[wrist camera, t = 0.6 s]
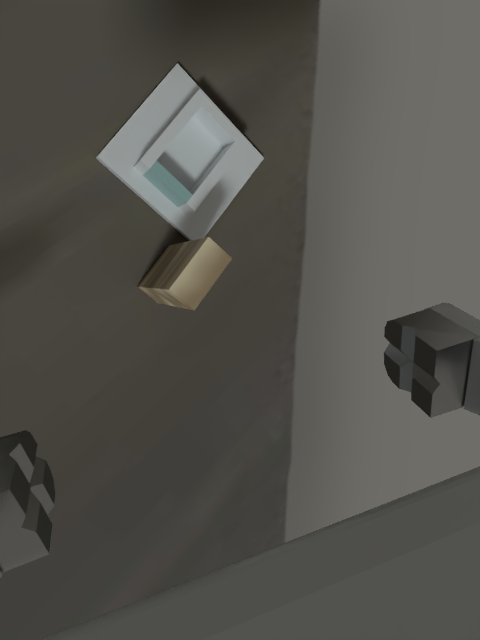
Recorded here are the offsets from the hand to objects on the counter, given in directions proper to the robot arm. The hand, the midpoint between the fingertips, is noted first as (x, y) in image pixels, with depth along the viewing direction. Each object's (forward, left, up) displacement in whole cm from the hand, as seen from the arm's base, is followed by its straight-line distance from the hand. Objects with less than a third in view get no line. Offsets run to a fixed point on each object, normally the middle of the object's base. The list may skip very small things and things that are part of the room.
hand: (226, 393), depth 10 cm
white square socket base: (0, +21, -40) cm, 45 cm away
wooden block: (+6, +9, -40) cm, 41 cm away
